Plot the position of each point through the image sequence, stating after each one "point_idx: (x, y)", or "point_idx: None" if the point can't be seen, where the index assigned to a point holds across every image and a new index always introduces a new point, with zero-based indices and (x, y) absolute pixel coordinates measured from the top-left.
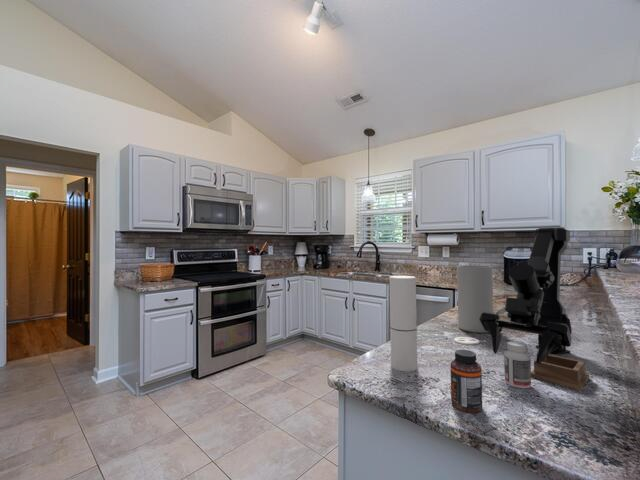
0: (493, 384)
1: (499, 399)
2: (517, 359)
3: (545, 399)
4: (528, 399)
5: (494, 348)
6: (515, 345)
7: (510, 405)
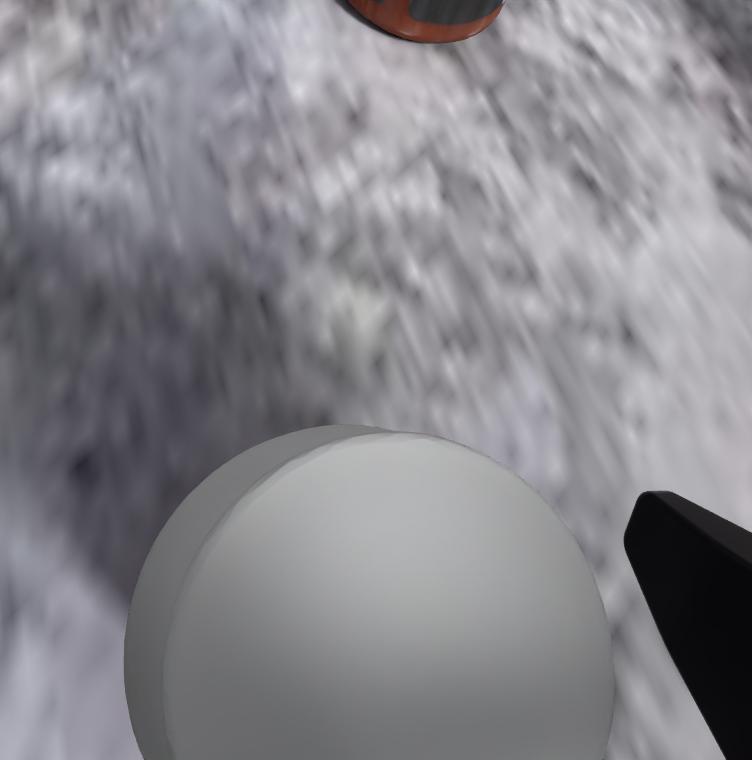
0: (446, 423)
1: (308, 186)
2: (283, 435)
3: (10, 441)
4: (135, 333)
5: (693, 516)
6: (370, 448)
7: (219, 146)
